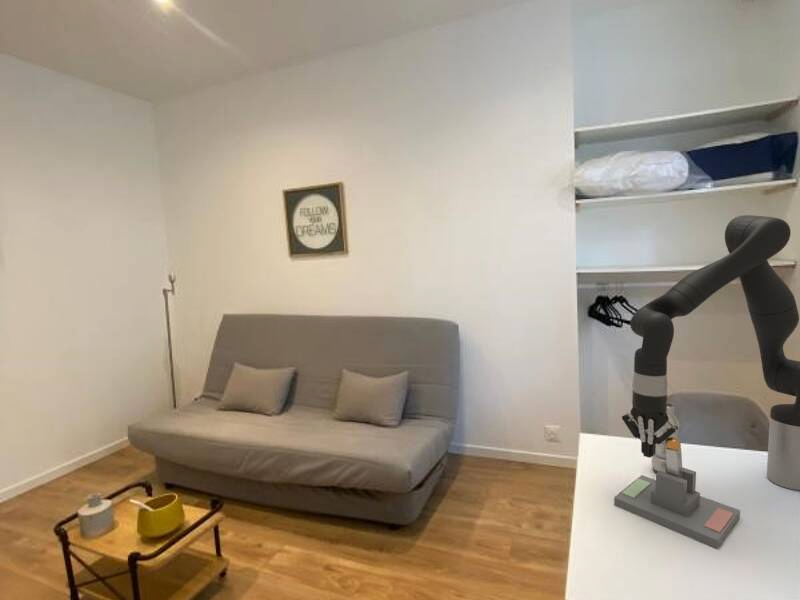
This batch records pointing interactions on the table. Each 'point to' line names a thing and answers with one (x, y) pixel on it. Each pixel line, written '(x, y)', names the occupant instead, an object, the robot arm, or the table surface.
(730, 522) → the switch box
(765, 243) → the robot arm
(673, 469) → the lever
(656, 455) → the plastic bottle
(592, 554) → the table surface
